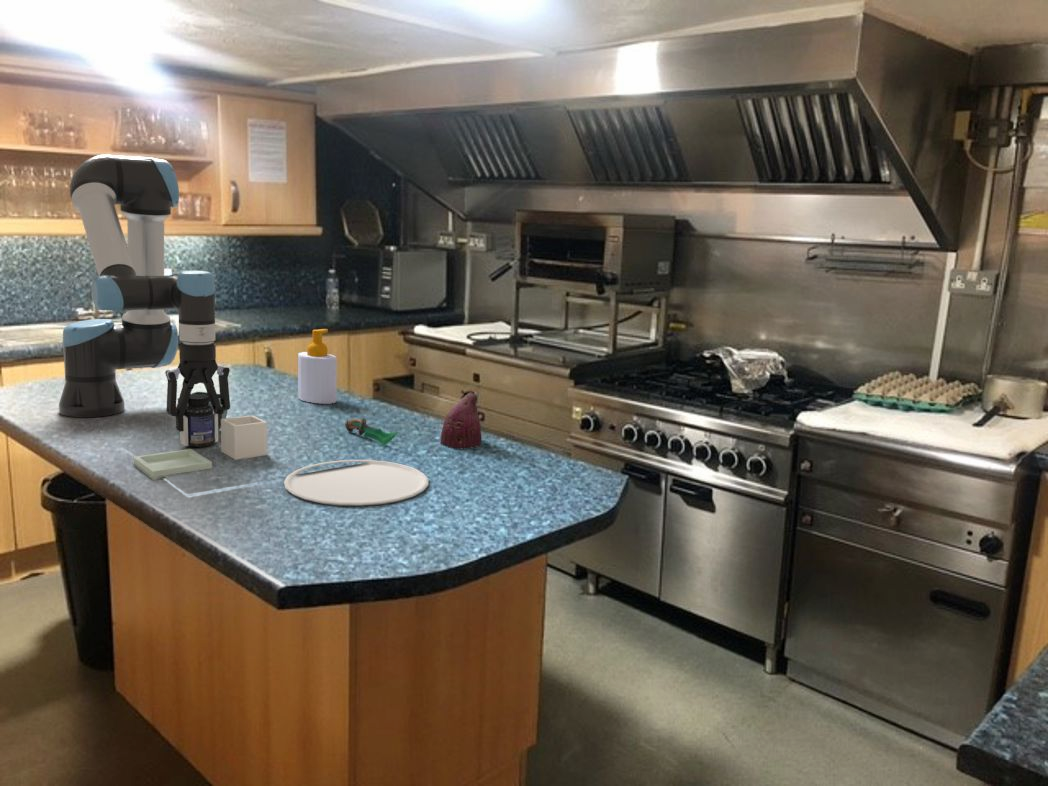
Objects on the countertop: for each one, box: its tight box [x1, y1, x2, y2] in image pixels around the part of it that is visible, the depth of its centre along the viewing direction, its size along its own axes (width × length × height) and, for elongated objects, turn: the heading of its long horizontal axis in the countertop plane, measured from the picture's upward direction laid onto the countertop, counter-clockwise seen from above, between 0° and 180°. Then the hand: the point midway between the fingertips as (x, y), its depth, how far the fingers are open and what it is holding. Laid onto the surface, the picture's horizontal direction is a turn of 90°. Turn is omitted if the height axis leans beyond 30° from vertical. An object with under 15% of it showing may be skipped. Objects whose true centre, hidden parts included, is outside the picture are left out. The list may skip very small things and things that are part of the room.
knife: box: [344, 418, 399, 446], centre depth 208 cm, size 21×2×5 cm, turn 45°
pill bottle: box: [184, 394, 214, 448], centre depth 194 cm, size 6×6×11 cm
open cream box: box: [220, 414, 268, 460], centre depth 190 cm, size 7×7×8 cm
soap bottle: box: [297, 328, 338, 405], centre depth 246 cm, size 13×8×20 cm, turn 58°
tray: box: [132, 448, 213, 481], centre depth 180 cm, size 12×12×2 cm
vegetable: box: [440, 390, 482, 450], centre depth 209 cm, size 10×10×15 cm
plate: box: [283, 459, 429, 507], centre depth 176 cm, size 29×29×1 cm
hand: (199, 442), depth 195 cm, fingers closed on pill bottle, 6 cm apart
